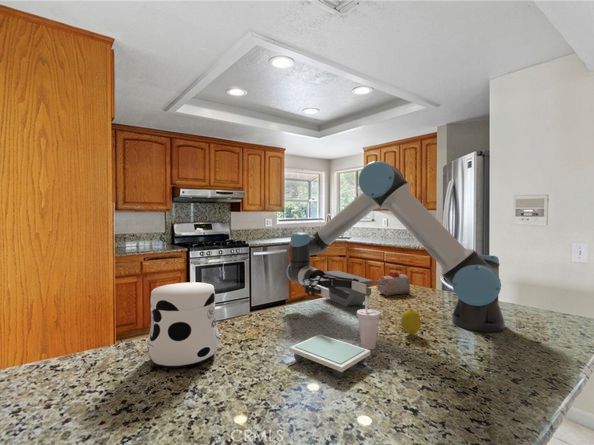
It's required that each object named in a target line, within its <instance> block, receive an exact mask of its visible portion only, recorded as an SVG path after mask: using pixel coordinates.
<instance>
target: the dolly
mask: <svg viewBox="0 0 594 445" xmlns="http://www.w3.org/2000/svg"><path fill="white" fill-rule="evenodd" d="M288 349H289V352H291V353H292V354H293V357H294V359H295V361H296V362H297V363H300V362H303V361H304V360H305V359H308V360H310V361H313V362H315V363H318V364H321V365H323V366H326V367H328V368H331V369H332V374H333V376H334V378H335V379H340V378H342V377H344V375H345V371H346V370H347V369H349V368H351V367H353V366H354V365H356V364H357V365H360V366H361V365H363V364H365V363H366V360H367V359H366V358H367V357H369V356H370V355H371V350H372V349H365V348H363V347H362V346H358V345H356V344H355V345H354V344H351V343H348V342H345V341H342V340H338V339H336V338H332V337H330V336H327V335H323V334H320V333H319V334H317V335H315V336H312V337H310V338H308V339H306V340H303V341H301V342H299V343H296V344H294V345H292V346H289V347H288Z"/></svg>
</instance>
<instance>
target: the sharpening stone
mask: <svg viewBox="0 0 594 445" xmlns="http://www.w3.org/2000/svg"><path fill="white" fill-rule="evenodd" d="M323 272H324V273H325V274H326V276H329V277H334V276H338V277H344V278H351V279H354V278H356V279H358V280H359V283H362V284H366V293H365V294H364V293H361V292H358V291H356V290H353V289H352V288H346V287H334V288H332V287H327V288H328V289H329V299H330V301H333V302H335V303H337V304H339V305H342V306H344V307H352V306H358V305H359V306H360V305H363V304H365V296H367V299H368V298H369V297H370V296H371V295H372V288H371V287H367V286H371V285H374V280H373V279H369V278H365V277H363V276H358V275H356V274H351V273H348V272H344V271H341V270H329V271H323ZM331 285H333V282H332V284H331Z"/></svg>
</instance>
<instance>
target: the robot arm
mask: <svg viewBox="0 0 594 445" xmlns="http://www.w3.org/2000/svg"><path fill="white" fill-rule="evenodd" d="M358 186H359V189H360V191H361V192H362V193H360V194H359V196H357V197H356V198H355V199H354V200H352V201H351V202H350V203H349V204H347V205H346V206H345V207H344V208H343V209H342V210H340V211H339V212H338V213H337V214H336V215H335V216H334V217H332V218H331V219H330V220H329V221H328V222H326V223H325V224H324V225H322V227H321V228H319V229H318V230H317V231H316V232H315V233H313V234H312V235H311V234H310V233H308V232H293V233H292V234H291V235H290V242H289V245H290V247H289V248H290V251H289V252H290V254H289V255H290V256H289V257H290V258H289V260H290V261H289V262H290V263H289V264H288V265H287V267H286V269H285V270H286V271H285V273H286V276H287V278H288V280H290V281H291V282H292V283H295V284H299V285H301V286H302V288H304V293H305V294H309V293H310V296H316V295H318V296H320V297H323V298H325V299H330V297H329V289H328V288H327V287H332V288H334V287H346V288H352V289H353V290H356V291H358V292H361V293H364V294H365V293H366V287H367V285H366V284H362V283H359V280H358V279H356V278H354V279H351V278H344V277H338V276H334V277H329V276H326V274H325V273H324V272H325V271H323V270H322V269H320V268H316V267H312V266H311V256H314V255H319V254H322V253H324V252H326V251H327V249H328V248H329V246H330V245H331V244H332V243H334V242H335V241H336V240H337V239H339V238H340V237H341V236H342V235H344V234H346V232H347V231H349V230H350V229H351V228H353V226H355V225H356V224H357V223H359V222H360V221H361V220H362V219H363V218H365V217H367V216H368V215H369V214H370V213H371V212H373V211H374V210H375V209H376V208H377V207H380V209H381V210H389V211H390V212H391V213H392V214H393V216H395V218H396V219H397V220H398V221H399V222H400V223H401V224H402V225H403V227H405V229H406V230H408V231H409V233H410V234H411V235H412V236H413V237H414V238H415V239H416V241H418V242H419V243H420V245H421V247H423V248H424V249H425V250H426V251H427V253H428V254H429V255H430V256H431V257H432V258H433V259H434V260H435V261H436V262H437V263H438V264H439V265H440V266H441V276H442V277H443V278H444V279H445V280H446V281H448V283H449V284H450V286H452V289H453V292H454V293H455V295H456V297H457V301H456V303H455V306H454V309H453V312H452V315H451V316H452V317H451V319H452V323H453V324H454V325H456V326H458V327H460V328H463V329H466V330H471V331H476V332H481V333H482V332H485V333H486V332H487V333H497V332H503V331H504V330H505V326H506V325H505V318H504V315H503V312H502V310H501V307H500V303H499V295H500V292H501V287H502V283H501V279H500V274H499V272H500V261H499V257H498V256H496V255H489V254H486V255H485V254H478V252H477V251H476V250H474V249H470V248H465V247H464V245H462V244H461V243H460V241H458V240H457V239H456V237H455V236H453V235H452V233H451V232H450V231H449V230H447V228H445V226H444V225H443V224H442V223H441V222H440V221H439V220H438V219H437V218H436V217H435V216H434V215H433V214H432V213H431V212H430V211H429V210H428V209H427V208H426V207H425V206H424V205H423V204H422V203H421V201H420V200H419V199H418V198H417V197H415V195H414V194H413V193H412V192H411V191H410V183H409V182H408V181H407V180H406V179H405V178H404V176H403V173H402V172H401V170H400V169H398V168H397V167H396V166H393V165H391V164H389V163H388V162H386V161H382V160H375V161H371V162H369V163H367V164H366V165H364V167H362V169H361V171H360V173H359V175H358ZM332 282H333V285H331V284H332Z"/></svg>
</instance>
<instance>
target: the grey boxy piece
mask: <svg viewBox="0 0 594 445" xmlns="http://www.w3.org/2000/svg"><path fill="white" fill-rule="evenodd" d="M376 281H377V290H378V292H380V293H381V294H382V295H384V296H387V297H390V296H398V294H399V295H406V294H411V283H410V277H409V276H408V275H407V274H403V273H402V274H401V273H400V274H399V273H398V272H392V271H389V273H388V275H384V276H380V277H379V279H377V280H376Z"/></svg>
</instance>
